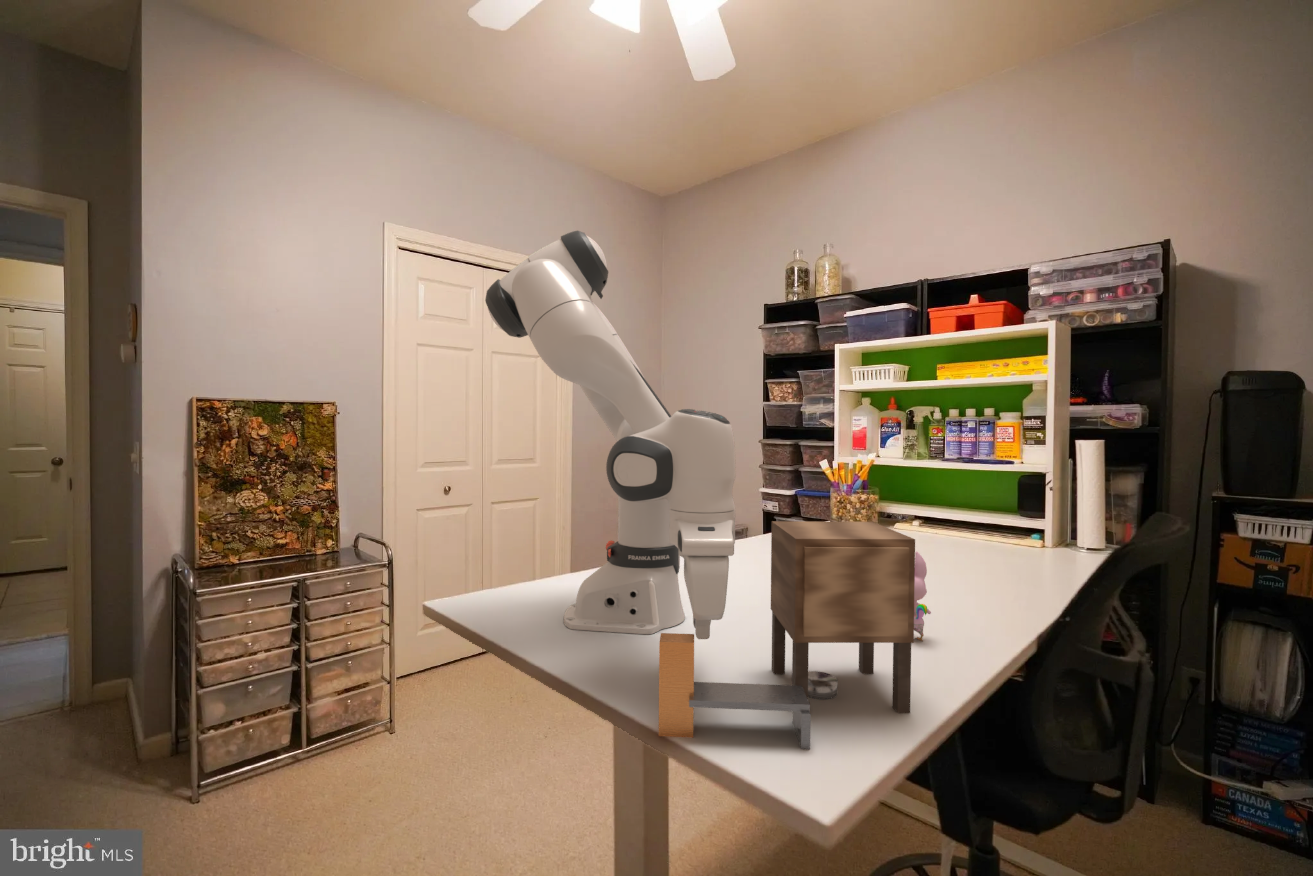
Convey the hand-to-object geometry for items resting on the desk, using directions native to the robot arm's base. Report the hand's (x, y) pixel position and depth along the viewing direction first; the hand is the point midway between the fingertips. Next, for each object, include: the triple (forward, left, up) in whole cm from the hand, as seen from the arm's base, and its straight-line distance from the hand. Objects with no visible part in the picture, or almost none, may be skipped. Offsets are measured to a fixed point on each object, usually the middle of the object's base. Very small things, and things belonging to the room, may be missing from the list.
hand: (701, 632), depth 81 cm
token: (+16, 0, -8) cm, 18 cm away
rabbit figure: (+38, +19, -8) cm, 43 cm away
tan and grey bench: (-4, -10, -8) cm, 14 cm away
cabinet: (+19, +1, -8) cm, 20 cm away
